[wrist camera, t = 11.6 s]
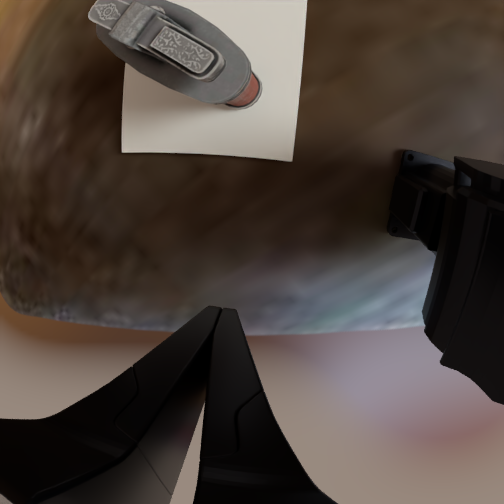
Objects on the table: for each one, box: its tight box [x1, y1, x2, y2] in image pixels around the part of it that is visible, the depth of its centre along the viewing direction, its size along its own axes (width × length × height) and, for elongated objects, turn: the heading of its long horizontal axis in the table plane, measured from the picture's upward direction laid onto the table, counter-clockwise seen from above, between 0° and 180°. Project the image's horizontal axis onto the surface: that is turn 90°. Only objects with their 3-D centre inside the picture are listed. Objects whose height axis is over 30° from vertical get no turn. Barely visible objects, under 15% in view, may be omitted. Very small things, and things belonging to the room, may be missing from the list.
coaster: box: [122, 0, 307, 162], centre depth 16 cm, size 12×12×1 cm
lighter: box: [88, 0, 263, 110], centre depth 11 cm, size 8×3×10 cm, turn 51°
